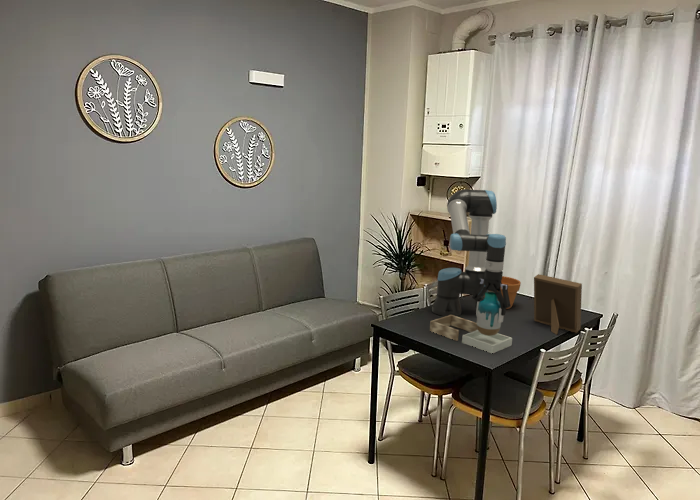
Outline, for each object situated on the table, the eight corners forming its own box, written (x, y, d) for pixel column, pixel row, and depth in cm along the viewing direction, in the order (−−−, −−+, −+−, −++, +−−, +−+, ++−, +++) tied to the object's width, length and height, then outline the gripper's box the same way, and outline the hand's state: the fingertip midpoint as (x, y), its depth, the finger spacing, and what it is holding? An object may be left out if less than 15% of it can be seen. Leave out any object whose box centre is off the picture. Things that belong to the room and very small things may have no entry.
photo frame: (538, 319, 272) (543, 272, 267) (580, 330, 257) (586, 281, 252) (524, 325, 262) (529, 277, 256) (567, 338, 247) (573, 287, 241)
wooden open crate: (429, 331, 248) (430, 321, 247) (450, 324, 259) (451, 314, 258) (456, 341, 237) (457, 330, 236) (477, 333, 248) (478, 323, 247)
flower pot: (492, 297, 308) (494, 273, 305) (525, 306, 293) (528, 281, 290) (471, 304, 294) (473, 278, 291) (504, 313, 279) (507, 287, 276)
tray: (461, 342, 235) (462, 335, 235) (481, 335, 246) (482, 328, 245) (492, 353, 224) (493, 346, 223) (511, 345, 235) (512, 337, 234)
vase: (495, 340, 227) (500, 297, 223) (472, 335, 232) (475, 293, 228) (502, 333, 236) (507, 292, 232) (479, 328, 241) (483, 288, 237)
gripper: (466, 265, 234) (462, 313, 238) (513, 276, 217) (507, 327, 222) (476, 263, 239) (472, 310, 243) (522, 274, 222) (517, 324, 227)
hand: (489, 318), depth 232 cm, fingers closed on vase, 11 cm apart
